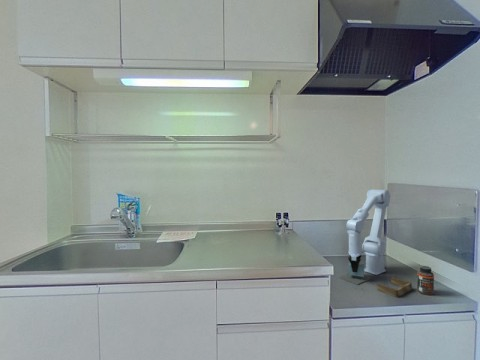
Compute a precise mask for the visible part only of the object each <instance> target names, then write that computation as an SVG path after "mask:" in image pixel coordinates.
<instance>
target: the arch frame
mask: <svg viewBox="0 0 480 360" xmlns="http://www.w3.org/2000/svg"><path fill="white" fill-rule="evenodd" d="M390 284H391V285H395V286H397V288H392V287H391V286H387V285H384V284H381V283H378V282H377V283H376V290H377V291H379V292H382V293H384V294H386V295H389V296H392V297H394V298H400V297H401V296H403V295H404V294H407V293H408V292H410V291H412V290H413V289H412V288H413V286H412V285H413V283H412V282H409V281H406V280H403V279H400V278H397V277H393V276H391V277H390ZM398 287H399V288H398Z"/></svg>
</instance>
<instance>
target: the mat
mask: <svg viewBox="0 0 480 360" xmlns="http://www.w3.org/2000/svg"><path fill="white" fill-rule="evenodd" d="M339 279H341V280H344V281H347V282H349V283H352V284H354V285H357V286H359V285H361V284H363V283H366V282H368V281H370V280H372V278H371V277H368V276H367V275H364V277H361V276H355V275H349V273H347V274H345V275H342V276H339Z"/></svg>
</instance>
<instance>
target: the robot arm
mask: <svg viewBox="0 0 480 360" xmlns="http://www.w3.org/2000/svg"><path fill="white" fill-rule="evenodd" d="M390 200H391V194H390V191H389V190H388V189H375V188H374V189H372V188H370V189H368V191H367V192H366V199H365V202H364V204H363V205H362V207H361V208H358V209H357V210H356V212H355V213H354V215H353V216H352V218H351V219H349V220H346V224H345V228H346V230H347V231H346V232H347V235H348V254H349V256H348V261H349V262H350V264H351V267H352V271H353V272H357V271H358V265H359V264H361V261H362V259H361V258H362V256H364V255H365V267H364V272H366V273H369V274H372V275H375V276H378V275H380V274H383V273H384V272H387V269H385V257H384V255H385V251H386V248H385V245H386V242H385V241H384V240H383V239H382V238H381V236H382V232H383V231H382V230H383V227H384V220H385V217H386V216H385V215H386V212H387V208H388V207H389V204H390ZM373 207H374V208H375V209H374V212H373V213H374V214H373V218H372V224H371V228H370V232H369V235H368V236H366V237H364V241H363V243H362V231H363V230H364V227H365V222H366V220H367V219H368V218H369V216H370V213H369V211H370V210H371V209H372V208H373ZM362 251H363V252H362Z"/></svg>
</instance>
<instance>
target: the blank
mask: <svg viewBox="0 0 480 360" xmlns="http://www.w3.org/2000/svg"><path fill="white" fill-rule="evenodd" d="M364 269H365V264H364V263H359V265H358V271H357V272H353V271H352V267H351V264H350V261H349V262H348V274H349V275H355V276H361V277H364V276H365V271H364Z"/></svg>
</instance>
